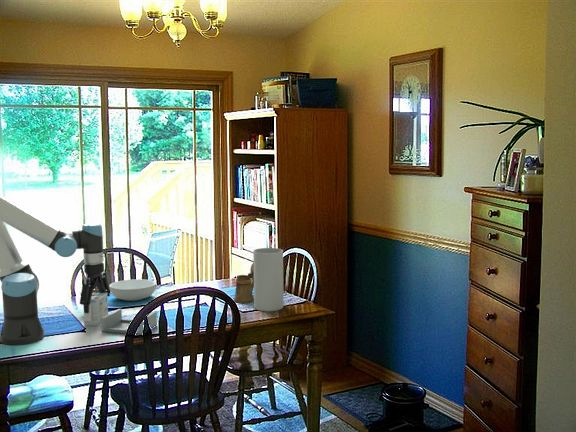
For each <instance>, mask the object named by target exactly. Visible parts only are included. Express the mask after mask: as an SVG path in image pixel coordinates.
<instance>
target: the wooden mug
mask: <svg viewBox="0 0 576 432" xmlns="http://www.w3.org/2000/svg"><path fill="white" fill-rule="evenodd" d="M249 270H250V272H249V273H247V274H239V275H237V276H236V279H235V291H234V297H233V302H234V301H235V303H237V304H238V303H239V304H248V303H252V302H253V303H254V261H253V262H252V264H251V266H250V269H249Z"/></svg>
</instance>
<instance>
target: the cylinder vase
mask: <svg viewBox="0 0 576 432" xmlns="http://www.w3.org/2000/svg"><path fill="white" fill-rule="evenodd" d="M252 257H253V262H254V288H253V296H254V301H253V306H254V309H255V310H257V311H259V312H264V313H265V312H268V313H269V312H278V311H281V310H282V309H283V308H284V250H283V249H281V248H278V247H277V248H275V247H262V248H255V249H254V250H253V255H252Z"/></svg>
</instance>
